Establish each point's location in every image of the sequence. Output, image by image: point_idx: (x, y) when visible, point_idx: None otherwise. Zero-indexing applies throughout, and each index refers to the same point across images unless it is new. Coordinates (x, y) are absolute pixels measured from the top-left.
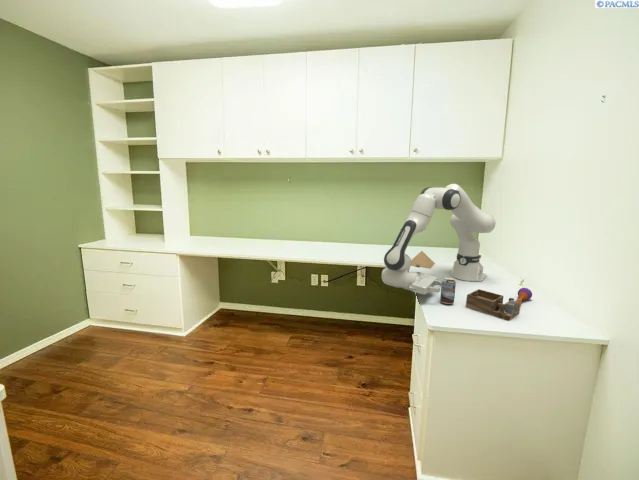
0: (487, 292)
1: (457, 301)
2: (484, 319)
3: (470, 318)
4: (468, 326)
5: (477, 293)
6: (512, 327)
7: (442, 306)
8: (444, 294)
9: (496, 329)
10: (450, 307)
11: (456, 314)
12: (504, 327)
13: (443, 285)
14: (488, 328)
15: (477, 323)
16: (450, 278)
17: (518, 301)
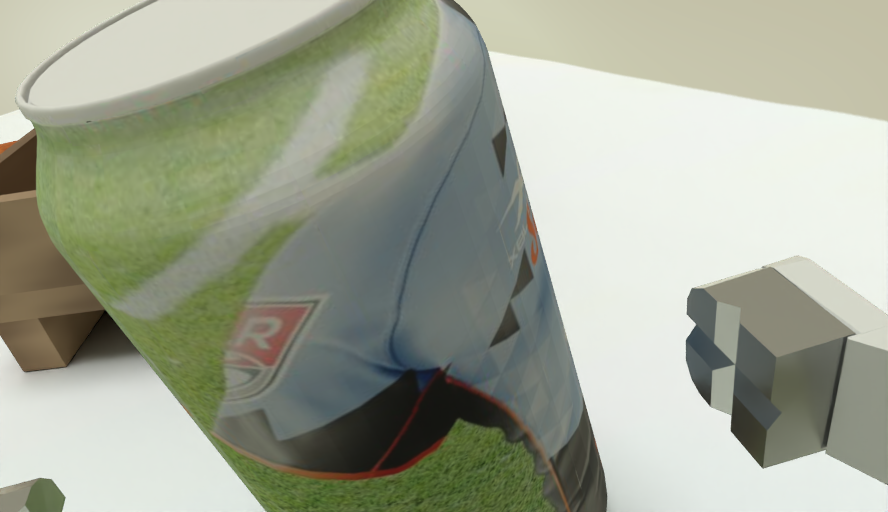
0: (22, 156)
1: (209, 491)
2: (553, 152)
3: (664, 183)
4: (851, 122)
5: (23, 241)
6: (508, 80)
7: (702, 490)
8: (573, 362)
9: (649, 80)
10: (593, 404)
11: (736, 261)
12: (559, 85)
13: (510, 209)
14: (694, 91)
15: (700, 132)
16: (77, 61)
17: (16, 141)
